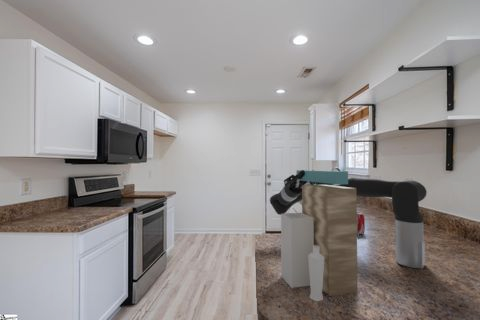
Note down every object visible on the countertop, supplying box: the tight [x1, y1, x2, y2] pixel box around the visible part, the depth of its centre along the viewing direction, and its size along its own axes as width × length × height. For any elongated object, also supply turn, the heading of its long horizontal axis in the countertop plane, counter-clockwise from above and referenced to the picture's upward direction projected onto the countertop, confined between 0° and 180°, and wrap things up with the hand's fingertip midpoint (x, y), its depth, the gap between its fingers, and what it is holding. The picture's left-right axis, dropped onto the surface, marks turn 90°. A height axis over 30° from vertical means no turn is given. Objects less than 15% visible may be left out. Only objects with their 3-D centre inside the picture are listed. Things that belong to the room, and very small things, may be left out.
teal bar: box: [295, 169, 349, 185], centre depth 85 cm, size 26×4×4 cm, turn 14°
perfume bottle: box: [308, 245, 324, 302], centre depth 69 cm, size 5×4×15 cm
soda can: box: [357, 211, 366, 235], centre depth 136 cm, size 7×7×12 cm
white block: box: [280, 212, 314, 289], centre depth 79 cm, size 8×8×22 cm
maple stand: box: [301, 184, 359, 297], centre depth 79 cm, size 16×10×32 cm, turn 14°
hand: (308, 172), depth 91 cm, fingers closed on teal bar, 4 cm apart
